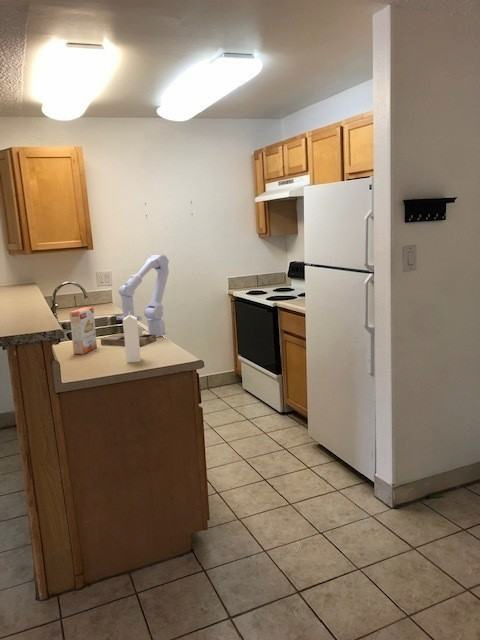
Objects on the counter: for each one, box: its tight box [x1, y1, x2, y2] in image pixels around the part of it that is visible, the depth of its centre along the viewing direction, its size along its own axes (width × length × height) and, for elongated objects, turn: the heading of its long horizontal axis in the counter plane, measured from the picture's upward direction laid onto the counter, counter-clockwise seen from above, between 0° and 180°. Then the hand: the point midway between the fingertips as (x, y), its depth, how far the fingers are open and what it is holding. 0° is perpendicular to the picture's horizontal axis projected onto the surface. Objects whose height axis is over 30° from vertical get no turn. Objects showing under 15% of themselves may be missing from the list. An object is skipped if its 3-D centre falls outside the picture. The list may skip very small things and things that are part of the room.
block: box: [138, 325, 143, 336], centre depth 278 cm, size 4×4×4 cm
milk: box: [122, 311, 142, 363], centre depth 236 cm, size 6×6×22 cm
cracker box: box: [69, 306, 98, 355], centre depth 261 cm, size 14×6×21 cm, turn 168°
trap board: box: [100, 332, 157, 348], centre depth 276 cm, size 15×24×3 cm, turn 66°
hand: (130, 333), depth 279 cm, fingers closed
